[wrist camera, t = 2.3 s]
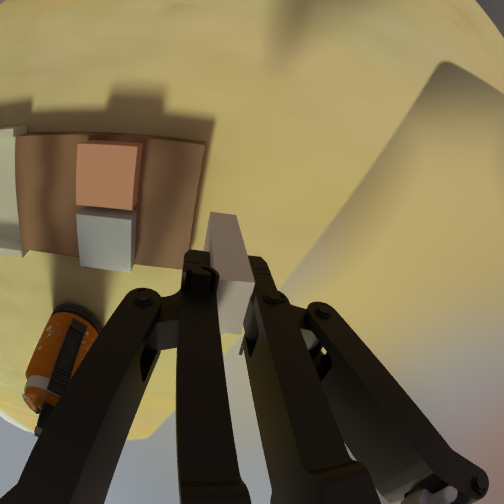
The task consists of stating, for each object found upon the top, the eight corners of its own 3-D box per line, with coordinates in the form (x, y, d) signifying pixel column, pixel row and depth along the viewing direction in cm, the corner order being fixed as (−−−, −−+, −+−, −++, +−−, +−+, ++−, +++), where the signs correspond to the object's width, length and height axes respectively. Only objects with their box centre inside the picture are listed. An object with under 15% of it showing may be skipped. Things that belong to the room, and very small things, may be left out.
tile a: (85, 196, 25) (76, 204, 23) (87, 139, 22) (77, 143, 20) (137, 201, 26) (131, 210, 24) (143, 143, 23) (137, 146, 21)
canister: (48, 325, 35) (10, 428, 18) (64, 281, 32) (9, 402, 15) (94, 350, 39) (71, 457, 22) (117, 312, 36) (89, 441, 18)
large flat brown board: (31, 239, 28) (23, 249, 26) (26, 133, 21) (15, 136, 19) (187, 258, 33) (186, 269, 31) (205, 142, 27) (205, 145, 25)
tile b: (87, 254, 28) (80, 266, 26) (85, 205, 25) (76, 214, 23) (135, 260, 29) (130, 272, 27) (136, 210, 27) (131, 220, 24)
